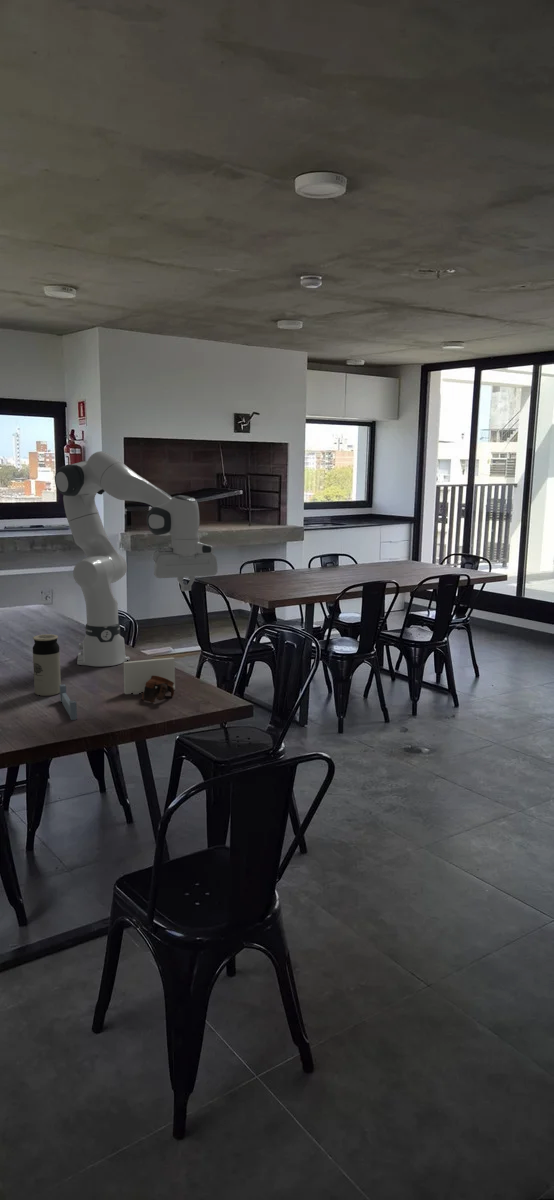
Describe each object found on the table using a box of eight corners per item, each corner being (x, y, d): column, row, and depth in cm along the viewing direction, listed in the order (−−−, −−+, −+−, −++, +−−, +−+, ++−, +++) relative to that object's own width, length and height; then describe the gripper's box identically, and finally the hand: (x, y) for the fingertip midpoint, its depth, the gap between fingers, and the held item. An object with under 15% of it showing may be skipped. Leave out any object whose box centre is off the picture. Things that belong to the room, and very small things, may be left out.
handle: (60, 700, 244) (59, 684, 243) (65, 700, 244) (64, 684, 243) (71, 720, 226) (70, 703, 225) (77, 719, 226) (76, 702, 225)
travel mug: (54, 687, 257) (52, 632, 254) (65, 693, 251) (63, 637, 248) (30, 692, 252) (27, 636, 249) (41, 698, 246) (38, 640, 243)
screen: (123, 692, 253) (122, 661, 252) (172, 686, 260) (172, 656, 258) (126, 695, 250) (125, 664, 248) (176, 689, 256) (175, 659, 254)
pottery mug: (135, 699, 248) (144, 673, 250) (162, 709, 252) (171, 684, 254) (148, 699, 237) (157, 673, 239) (176, 709, 241) (185, 683, 243)
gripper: (156, 549, 247) (157, 594, 249) (219, 547, 255) (219, 590, 257) (150, 547, 253) (151, 591, 255) (212, 545, 261) (212, 587, 263)
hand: (186, 590), depth 256 cm, fingers closed
